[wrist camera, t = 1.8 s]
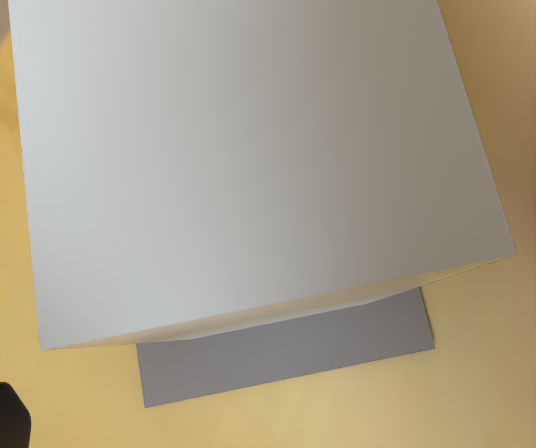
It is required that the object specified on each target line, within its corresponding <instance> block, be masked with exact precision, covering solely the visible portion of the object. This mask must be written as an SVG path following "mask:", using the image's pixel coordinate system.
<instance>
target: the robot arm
mask: <svg viewBox="0 0 536 448" xmlns="http://www.w3.org/2000/svg"><path fill="white" fill-rule="evenodd" d="M30 433H31V417H30V414H29V412H28V410H27V408H26V407H25V405H24V404H23V403H22V401H21V400H20V398H19V397H18V395H17V394H16V392H15V391H14V389H13V388H12V386H11V385H10V384H8V383H6V382H0V448H29V441H30Z"/></svg>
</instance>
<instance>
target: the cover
mask: <svg viewBox="0 0 536 448" xmlns="http://www.w3.org/2000/svg"><path fill="white" fill-rule="evenodd" d="M8 4H9V16H10V27H11V38H12V49H13V59H14V70H15V81H16V92H17V103H18V114H19V125H20V136H21V147H22V158H23V169H24V180H25V190H26V201H27V212H28V223H29V234H30V245H31V256H32V267H33V278H34V289H35V300H36V311H37V321H38V332H39V343H40V351H44V350H57V349H70V348H83V347H96V346H109V345H123V344H136V343H149V342H162V341H175V340H188V339H195V338H200V337H205V336H210V335H215V334H220V333H225V332H230V331H235V330H240V329H245V328H250V327H255V326H259V325H264V324H269V323H274V322H279V321H284V320H289V319H294V318H299V317H304V316H309V315H314V314H319V313H324V312H328V311H333V310H338V309H343V308H348V307H353V306H358V305H363V304H368V303H371V302H374V301H377V300H380V299H383V298H386V297H389V296H392V295H395V294H398V293H401V292H404V291H407V290H410V289H413V288H416V287H419V286H422V285H425V284H428V283H432V282H435V281H438V280H441V279H444V278H447V277H450V276H453V275H456V274H459V273H462V272H465V271H468V270H471V269H474V268H477V267H480V266H483V265H486V264H489V263H492V262H495V261H499V260H502V259H505V258H508V257H511V256H514V255H517V251H516V248H515V245H514V242H513V238H512V235H511V232H510V229H509V226H508V223H507V219H506V216H505V213H504V210H503V207H502V204H501V200H500V197H499V194H498V191H497V188H496V185H495V181H494V178H493V175H492V172H491V169H490V166H489V162H488V159H487V156H486V153H485V150H484V147H483V143H482V140H481V137H480V134H479V131H478V128H477V124H476V121H475V118H474V115H473V112H472V109H471V105H470V102H469V99H468V96H467V93H466V90H465V86H464V83H463V80H462V77H461V74H460V71H459V67H458V64H457V61H456V58H455V55H454V52H453V48H452V45H451V42H450V39H449V36H448V33H447V29H446V26H445V23H444V20H443V17H442V14H441V10H440V7H439V4H438V1H437V0H8Z"/></svg>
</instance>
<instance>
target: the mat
mask: <svg viewBox="0 0 536 448" xmlns="http://www.w3.org/2000/svg"><path fill="white" fill-rule="evenodd" d="M136 346H137V354H138V361H139V368H140V376H141V383H142V391H143V398H144V406H145V408H148V407H153V406H158V405H162V404H167V403H172V402H177V401H182V400H187V399H192V398H196V397H201V396H206V395H211V394H216V393H221V392H226V391H230V390H235V389H240V388H245V387H250V386H255V385H260V384H264V383H269V382H274V381H279V380H284V379H289V378H294V377H298V376H303V375H308V374H313V373H318V372H323V371H328V370H333V369H337V368H342V367H347V366H352V365H357V364H362V363H367V362H371V361H376V360H381V359H386V358H391V357H396V356H401V355H405V354H410V353H415V352H420V351H425V350H430V349H435V345H434V341H433V337H432V333H431V330H430V326H429V322H428V318H427V315H426V311H425V307H424V303H423V300H422V296H421V292H420V288H419V287H416V288H413V289H410V290H407V291H404V292H401V293H398V294H395V295H392V296H389V297H386V298H383V299H380V300H377V301H374V302H371V303H368V304H363V305H358V306H353V307H348V308H343V309H338V310H333V311H328V312H324V313H319V314H314V315H309V316H304V317H299V318H294V319H289V320H284V321H279V322H274V323H269V324H264V325H259V326H255V327H250V328H245V329H240V330H235V331H230V332H225V333H220V334H215V335H210V336H205V337H200V338H195V339H188V340H175V341H162V342H149V343H136Z"/></svg>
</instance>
